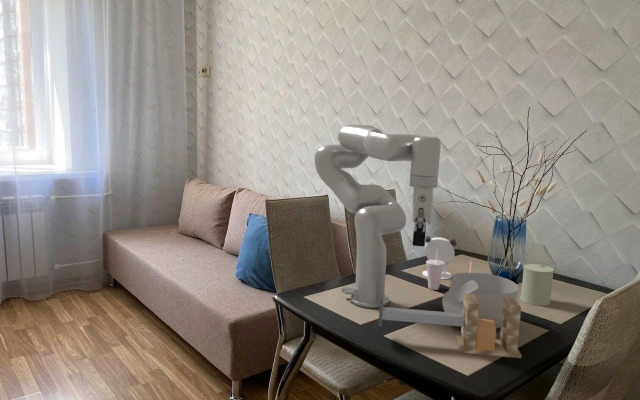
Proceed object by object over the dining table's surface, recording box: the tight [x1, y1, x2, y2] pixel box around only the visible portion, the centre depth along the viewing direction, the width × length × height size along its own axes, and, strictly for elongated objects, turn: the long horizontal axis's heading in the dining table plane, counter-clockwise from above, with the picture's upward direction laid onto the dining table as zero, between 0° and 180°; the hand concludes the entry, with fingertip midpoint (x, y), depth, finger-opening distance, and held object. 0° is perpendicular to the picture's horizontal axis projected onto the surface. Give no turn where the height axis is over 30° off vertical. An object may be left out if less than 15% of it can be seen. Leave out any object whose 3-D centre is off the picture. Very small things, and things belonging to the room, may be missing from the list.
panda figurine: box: [422, 235, 457, 281], centre depth 174 cm, size 12×11×15 cm
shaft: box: [378, 300, 466, 327], centre depth 117 cm, size 22×6×5 cm, turn 80°
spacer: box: [475, 318, 497, 351], centre depth 115 cm, size 4×6×6 cm
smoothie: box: [425, 250, 444, 291], centre depth 159 cm, size 6×6×14 cm
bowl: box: [441, 272, 519, 329], centre depth 132 cm, size 20×19×12 cm
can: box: [520, 263, 555, 307], centre depth 149 cm, size 9×9×12 cm
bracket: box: [456, 293, 522, 359], centre depth 114 cm, size 14×8×13 cm, turn 80°
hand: (418, 241), depth 126 cm, fingers open, 9 cm apart
